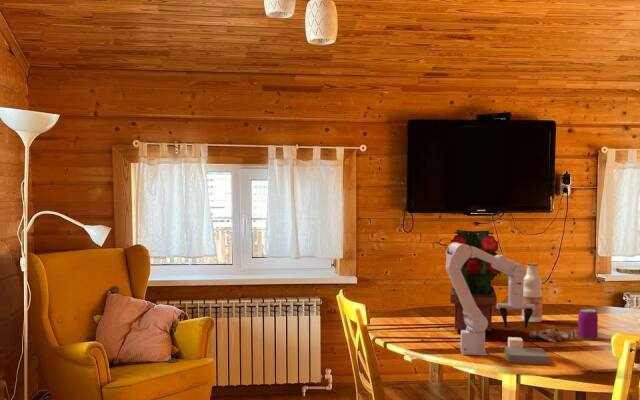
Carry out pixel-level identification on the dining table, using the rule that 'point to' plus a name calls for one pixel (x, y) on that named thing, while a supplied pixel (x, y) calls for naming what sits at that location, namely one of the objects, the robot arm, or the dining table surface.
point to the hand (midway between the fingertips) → (515, 327)
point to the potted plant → (477, 276)
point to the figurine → (552, 334)
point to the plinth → (526, 355)
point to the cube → (515, 342)
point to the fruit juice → (533, 292)
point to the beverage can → (588, 324)
